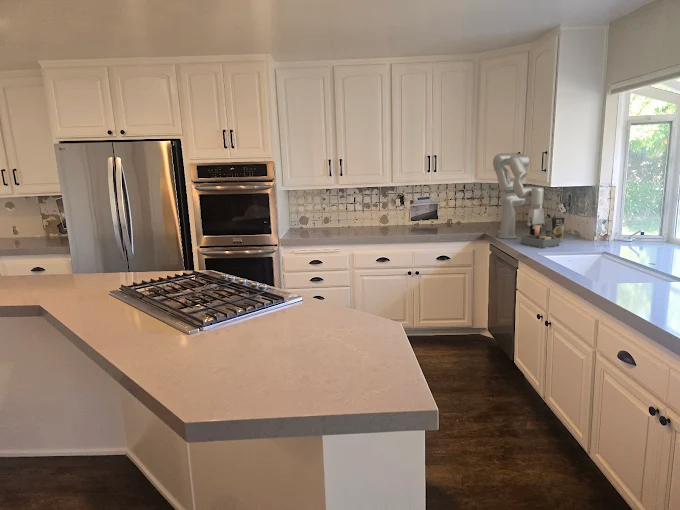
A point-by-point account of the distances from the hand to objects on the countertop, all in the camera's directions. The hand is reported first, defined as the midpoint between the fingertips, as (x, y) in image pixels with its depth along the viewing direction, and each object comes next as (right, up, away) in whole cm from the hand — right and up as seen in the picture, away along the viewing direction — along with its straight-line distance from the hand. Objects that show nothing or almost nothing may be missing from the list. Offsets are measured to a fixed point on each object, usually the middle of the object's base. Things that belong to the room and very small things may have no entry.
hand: (535, 234), depth 295 cm
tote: (+2, -7, -2) cm, 8 cm away
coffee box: (+16, -5, +9) cm, 19 cm away
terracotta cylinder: (0, -1, 0) cm, 1 cm away
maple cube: (+4, -7, -6) cm, 10 cm away
